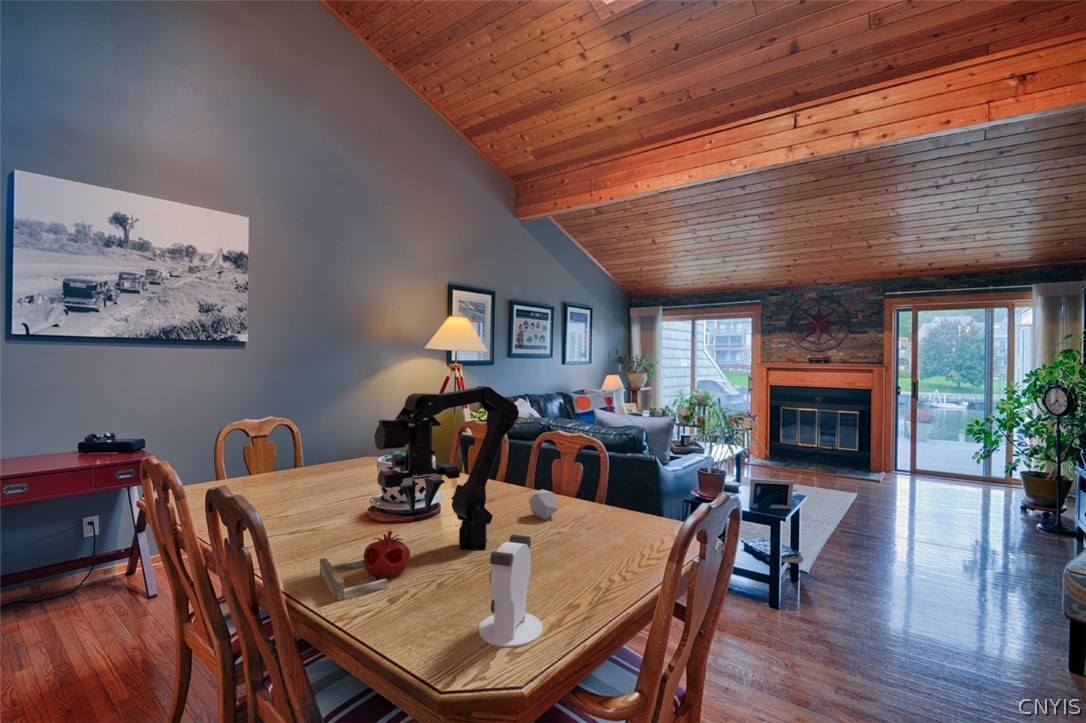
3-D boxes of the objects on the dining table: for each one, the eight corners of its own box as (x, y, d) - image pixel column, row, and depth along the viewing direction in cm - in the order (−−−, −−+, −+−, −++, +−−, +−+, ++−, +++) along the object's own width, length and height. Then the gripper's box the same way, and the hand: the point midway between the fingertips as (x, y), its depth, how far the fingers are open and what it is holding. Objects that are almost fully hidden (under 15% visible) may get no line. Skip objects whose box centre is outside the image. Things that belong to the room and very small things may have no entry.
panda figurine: (494, 607, 95) (495, 530, 95) (551, 616, 92) (551, 536, 92) (468, 640, 83) (468, 552, 84) (531, 652, 80) (531, 560, 80)
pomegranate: (373, 563, 116) (374, 523, 116) (415, 564, 116) (415, 524, 116) (355, 581, 106) (356, 537, 106) (401, 582, 106) (402, 539, 106)
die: (564, 520, 152) (560, 489, 158) (550, 512, 145) (547, 480, 151) (539, 527, 154) (536, 496, 160) (525, 519, 148) (523, 488, 154)
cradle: (365, 564, 115) (365, 549, 115) (387, 587, 103) (387, 570, 103) (319, 575, 109) (319, 559, 109) (337, 601, 97) (337, 582, 97)
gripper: (441, 438, 130) (441, 497, 130) (370, 445, 119) (369, 509, 119) (461, 443, 121) (460, 507, 121) (386, 451, 110) (385, 521, 110)
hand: (419, 510), depth 118 cm, fingers open, 3 cm apart
